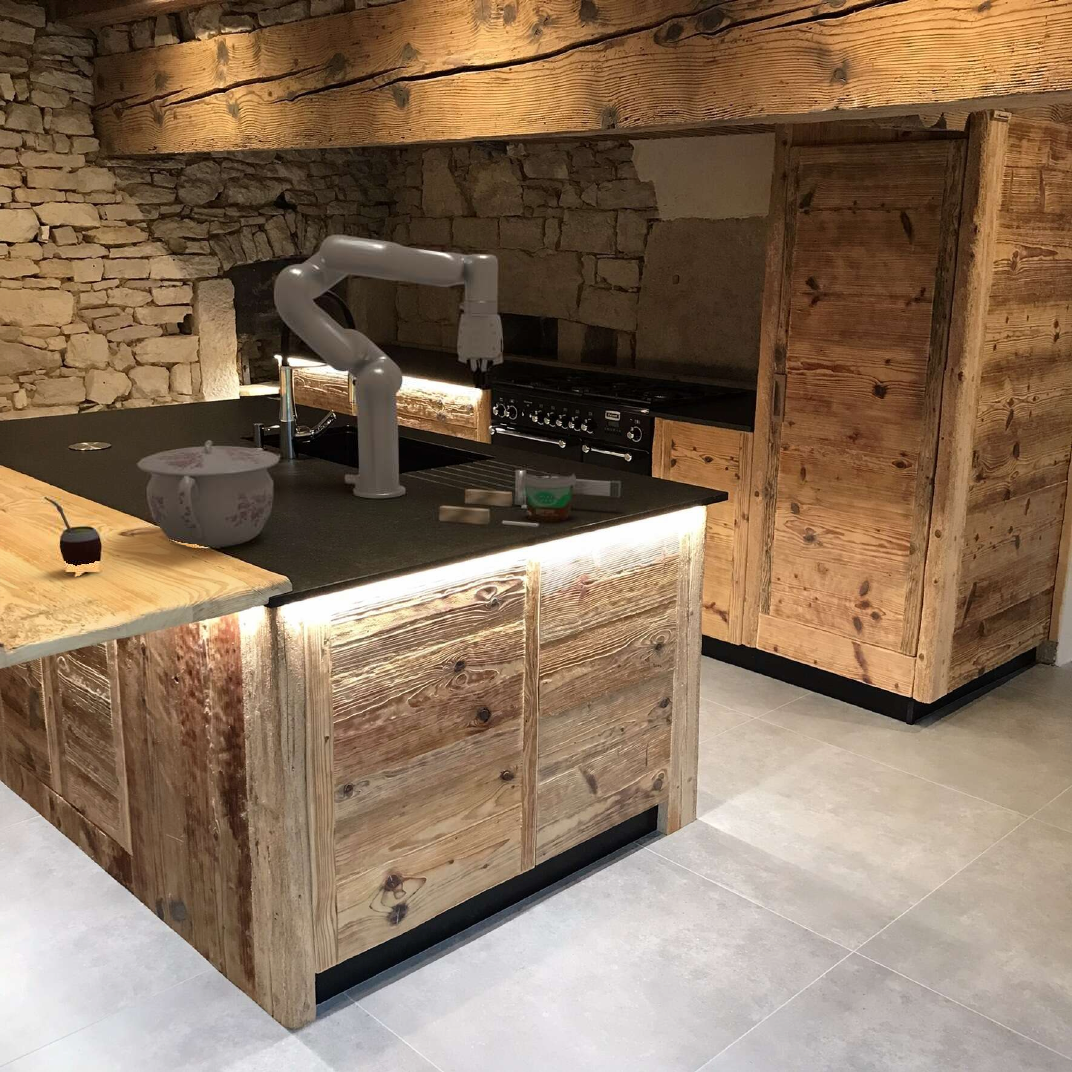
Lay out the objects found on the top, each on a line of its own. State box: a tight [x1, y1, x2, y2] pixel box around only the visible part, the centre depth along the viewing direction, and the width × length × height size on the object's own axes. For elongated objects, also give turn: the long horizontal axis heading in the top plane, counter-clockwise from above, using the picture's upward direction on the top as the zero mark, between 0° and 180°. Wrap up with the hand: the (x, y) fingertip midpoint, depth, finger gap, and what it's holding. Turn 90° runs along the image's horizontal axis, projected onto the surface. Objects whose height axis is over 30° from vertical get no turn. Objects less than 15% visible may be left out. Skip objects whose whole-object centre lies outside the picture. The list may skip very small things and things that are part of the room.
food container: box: [521, 473, 577, 523], centre depth 242 cm, size 12×6×10 cm, turn 92°
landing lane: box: [501, 504, 540, 528], centre depth 246 cm, size 8×17×1 cm, turn 165°
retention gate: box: [514, 469, 622, 506], centre depth 253 cm, size 2×25×8 cm, turn 75°
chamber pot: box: [136, 439, 281, 547], centre depth 220 cm, size 28×28×21 cm
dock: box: [438, 488, 513, 526], centre depth 249 cm, size 11×20×3 cm, turn 165°
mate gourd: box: [44, 496, 103, 566], centre depth 198 cm, size 8×8×15 cm
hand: (480, 387), depth 259 cm, fingers closed
